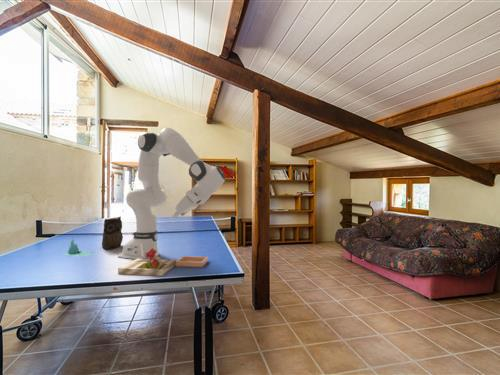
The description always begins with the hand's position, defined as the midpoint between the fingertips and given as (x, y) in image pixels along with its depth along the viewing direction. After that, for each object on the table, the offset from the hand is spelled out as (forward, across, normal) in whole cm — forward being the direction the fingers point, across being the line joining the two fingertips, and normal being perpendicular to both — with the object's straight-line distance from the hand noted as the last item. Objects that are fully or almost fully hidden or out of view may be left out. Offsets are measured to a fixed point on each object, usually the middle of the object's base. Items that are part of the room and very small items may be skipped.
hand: (178, 216), depth 127 cm
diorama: (+69, -25, -31) cm, 80 cm away
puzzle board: (+30, -3, +8) cm, 31 cm away
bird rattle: (+28, 0, +10) cm, 30 cm away
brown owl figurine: (+63, -43, -25) cm, 80 cm away
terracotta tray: (+17, -14, +21) cm, 30 cm away
